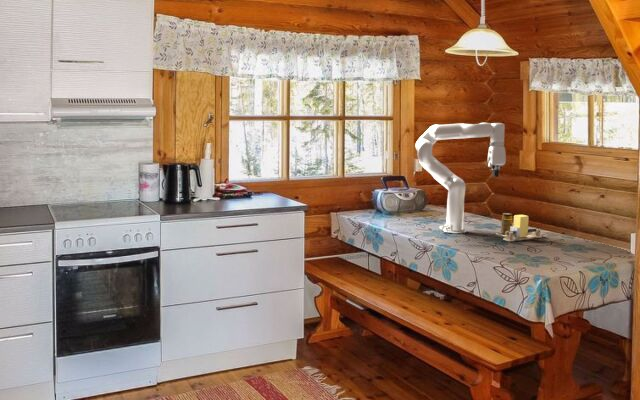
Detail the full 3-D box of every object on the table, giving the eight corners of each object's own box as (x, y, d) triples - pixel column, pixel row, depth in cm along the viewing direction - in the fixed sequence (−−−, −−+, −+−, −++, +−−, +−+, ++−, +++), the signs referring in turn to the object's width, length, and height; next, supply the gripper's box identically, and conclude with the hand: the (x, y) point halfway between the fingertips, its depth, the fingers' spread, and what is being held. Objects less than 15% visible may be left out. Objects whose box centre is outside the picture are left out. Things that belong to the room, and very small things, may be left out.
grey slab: (516, 239, 380) (517, 228, 379) (509, 237, 385) (510, 226, 384) (519, 238, 381) (520, 227, 380) (512, 237, 386) (513, 226, 385)
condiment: (514, 234, 396) (516, 214, 394) (504, 236, 391) (505, 215, 390) (505, 232, 402) (506, 212, 400) (494, 234, 397) (495, 213, 396)
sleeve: (519, 237, 381) (520, 216, 379) (512, 235, 385) (513, 215, 384) (527, 236, 384) (528, 216, 382) (520, 234, 388) (522, 214, 386)
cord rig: (509, 241, 378) (509, 232, 377) (503, 239, 382) (503, 230, 382) (541, 237, 389) (542, 228, 388) (535, 235, 394) (535, 227, 393)
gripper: (491, 145, 389) (489, 178, 392) (511, 144, 396) (509, 176, 399) (482, 144, 396) (480, 176, 399) (502, 143, 403) (500, 175, 406)
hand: (495, 176), depth 399 cm, fingers closed
